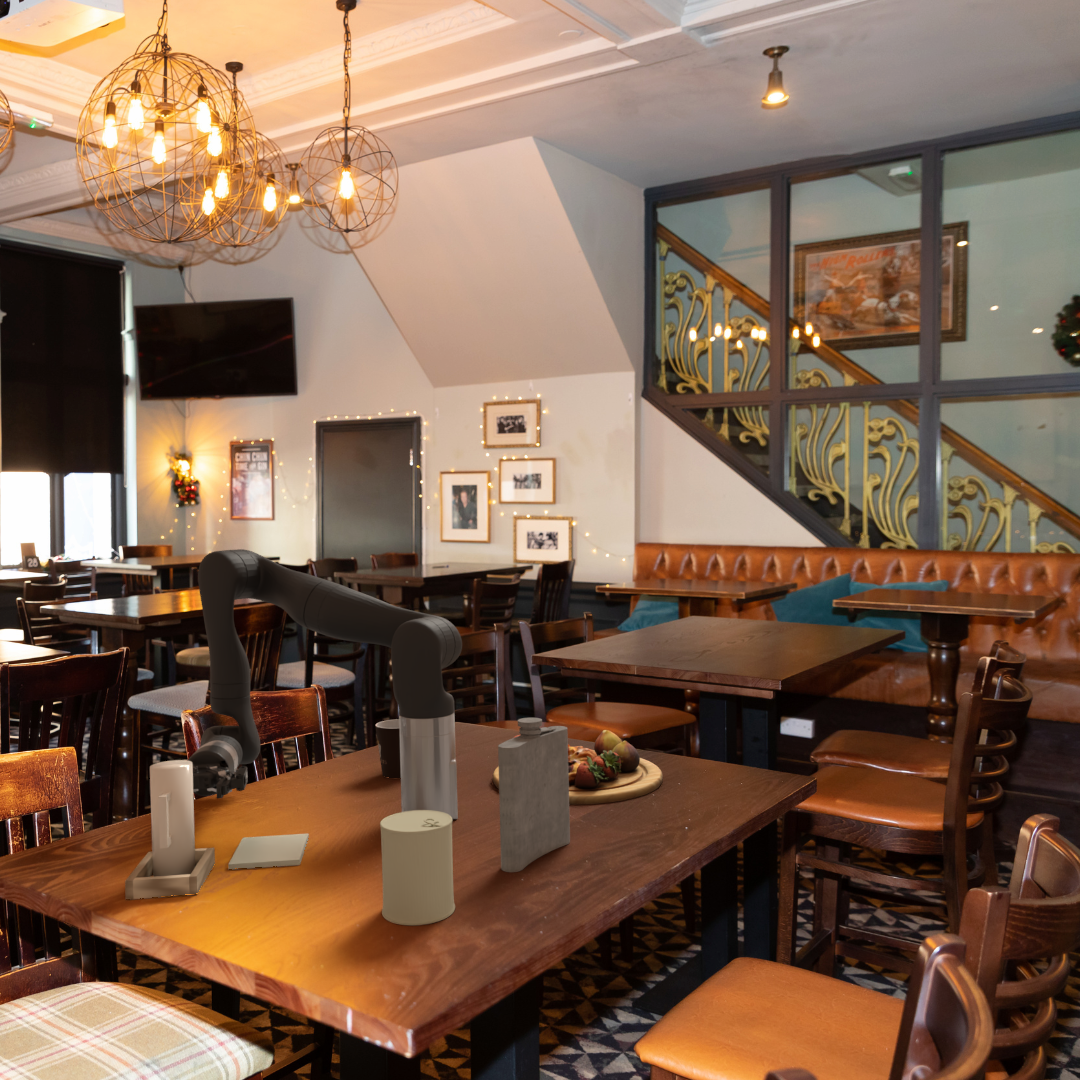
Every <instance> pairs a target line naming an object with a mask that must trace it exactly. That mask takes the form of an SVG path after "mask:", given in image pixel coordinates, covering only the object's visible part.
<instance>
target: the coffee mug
mask: <svg viewBox="0 0 1080 1080" xmlns="http://www.w3.org/2000/svg"><path fill="white" fill-rule="evenodd" d="M375 731H376V732H375V733H376V738H377V739H376V740H377V747H378V752H379V753H378V754H379V760H380V767H381V774H382V777H383V776H385V777H389V778H401V767H400V727H399V718H398V719H397V718H396V719H387V720H384V721H383V720H382V721H379V722H377V723H376V724H375ZM385 777H384V778H385ZM389 778H388V779H389Z"/></svg>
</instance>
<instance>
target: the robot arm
mask: <svg viewBox="0 0 1080 1080" xmlns="http://www.w3.org/2000/svg"><path fill="white" fill-rule="evenodd" d="M197 574H198V575H197V577H198V578H197V582H198V588H199V589H198V590H199V596H200V603H201V608H202V615H203V621H204V627H205V632H206V634H205V635H206V638H207V645H208V651H209V652H208V653H209V664H210V666H209V667H210V671H209V672H210V674H209V675H210V676H209V677H210V679H209V681H210V686H209V687H210V692H209V693H210V694H209V696H210V697H209V698H210V699H209V702H210V709H211V711H212V712H213V713H215V714H218V715H221V716H227V717H230V718H232V719H234V720H235V721H236V723H237V725H214V726H210V727H208V728H206V729H205V730H204V732H203V733H202V735H201V739H200V747H199V748H197V749H196V751H195V752H194V753H193V754H192V755H190V757H189V758H188V759H187V761H191V762H192V765H193V794H196V795H198V796H202V797H210V796H211V797H212V796H214V795H216V799H223V797H224V796H226V795H228V794H229V793H231V792H233V789H236V791H237V792H242V791H245V789H246V787H247V784H248V782H249V781H248V766H246V765H247V764H248V765H249V764H252V763H253V762H255V760H256V759H257V758H258V756H259V754H260V752H261V738H260V735H259V732H258V729H257V726H256V721H255V720H254V715H253V709H252V705H251V667H250V663H249V659H248V655H247V653H246V651H245V648H244V646H243V645H242V642H241V641H240V637H239V636H238V633H237V629H236V627H235V620H234V608H235V600H236V601H238V600H242V599H243V600H244V599H245V600H246V599H248V600H249V599H251V600H256V601H262V602H265V603H268V604H271V605H275V606H277V607H279V608H281V609H282V610H283V611H285V612H286V613H287V614H288V616H289V617H290V618H291V619H292V620H293V621H294V622H295V623H296V624H298V625H300V626H301V627H304V628H305V629H308V630H310V631H313V632H315V633H317V634H321V635H323V636H325V637H329V638H333V639H336V640H343V641H347V642H354V643H355V642H356V643H364V644H374V645H380V646H383V647H387V648H390V659H391V660H390V662H391V672H392V673H391V674H392V675H391V676H392V687H393V689H392V690H393V695H394V699H395V701H396V703H397V706H398V719H399V727H400V767H401V779H400V798H401V801H400V802H401V803H400V805H401V806H400V807H401V812H405V811H414V810H432V811H440V812H444V813H446V814H449V815H450V816H451V817H452V820H457V819H459V818H458V817H459V816H458V812H459V811H458V807H459V806H458V778H457V776H458V775H457V769H458V768H457V758H456V755H457V754H456V725H455V722H456V721H455V699H454V697H453V695H452V694H450V693H449V692H447V691H446V690H445V687H444V685H443V683H444V682H443V674H442V673H443V672H442V670H443V669H445V668H447V667H449V666H450V665H452V664H453V663H454V662H456V660H458V659H459V656H460V655H461V653H462V650H463V640H462V636H461V634H460V632H459V630H458V629H457V627H456V626H455V625H454V624H453V623H452V622H451V621H449V620H448V619H447V618H444V617H441V616H438V615H434V614H429V613H424V612H420V611H415V610H412V609H411V610H410V609H407V608H404V607H399V606H396V605H393V604H390V603H388V602H385V601H383V600H381V599H378V598H376V597H374V596H371V595H368V594H365V593H363V592H360V591H358V590H355V589H352V588H351V587H350V588H349V587H347V586H346V585H342V584H339V583H337V582H334V581H331V580H329V579H324V578H321V577H318V576H315V575H312V574H310V573H309V574H308V573H305V572H301V571H299V570H298V571H296V570H294V569H290V568H289V567H288V568H287V567H285V566H283V565H281V564H279V563H277V562H275V561H273V560H271V559H269V558H267V557H265V556H263V555H261V554H259V553H257V552H255V551H252V550H248V549H244V548H243V549H242V548H241V549H239V548H238V549H226V550H225V549H223V550H215V551H212V552H209V553H208V554H206V555H205V556H204V557H203V558H202V559H201V561H200V563H199V567H198V573H197ZM240 765H242V766H240ZM239 766H240V767H239ZM238 767H239V768H238ZM149 796H151V790H150V789H149Z"/></svg>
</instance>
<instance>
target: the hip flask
mask: <svg viewBox="0 0 1080 1080" xmlns="http://www.w3.org/2000/svg"><path fill="white" fill-rule="evenodd" d="M541 726H543V719H542V718H539V717H523V718H518V719H517V727H519V731H518V732H519V735H520V736H517V735H516V736H517V737H515V736H514V737H511V738H510V739H508V740H505V741H503V742H501V743H499V744H498V745H497V750H498V751H497V752H498V753H497V754H498V755H497V756H498V757H497V759H498V766H499V789H498V792H499V793H498V794H499V827H500V828H499V831H500V832H499V833H500V838H499V839H500V870H501V871H503V872H506V873H517V872H521V871H523V870H524V869H525V868H526V867H527V866H528V865H530V864H531V863H532V862H534V861H536V860H537V859H539V858H541V857H542V856H544V855H546V854H549V853H550V852H552V851H554V850H556V849H559V848H561V847H564V846H567V845H569V844H570V843H571V828H570V826H571V825H570V820H571V819H570V804H569V775H568V744H569V743H568V742H569V741H568V738H569V736H568V727H567V726H564V725H552V726H544V727H541Z"/></svg>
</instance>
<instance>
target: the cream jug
mask: <svg viewBox="0 0 1080 1080" xmlns="http://www.w3.org/2000/svg"><path fill="white" fill-rule="evenodd" d="M187 760H188V759H187ZM187 760H185V759H182V760H181V759H175V760H167V761H166V760H165V761H160V762H156V763H154V764H151V765H150V766H149V778H150V779H149V791H150V790H151V795H150V818H151V819H150V820H151V850H152V851H151V852H152V859H153V874H152V877H156V876H170V875H185V874H191V873H192V871H193V870H194V868H195V849H196V846H195V845H196V844H195V843H196V841H195V840H196V839H195V810H194V809H195V808H194V802H195V801H194V793H193V765H192V762H191V761H187Z"/></svg>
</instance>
